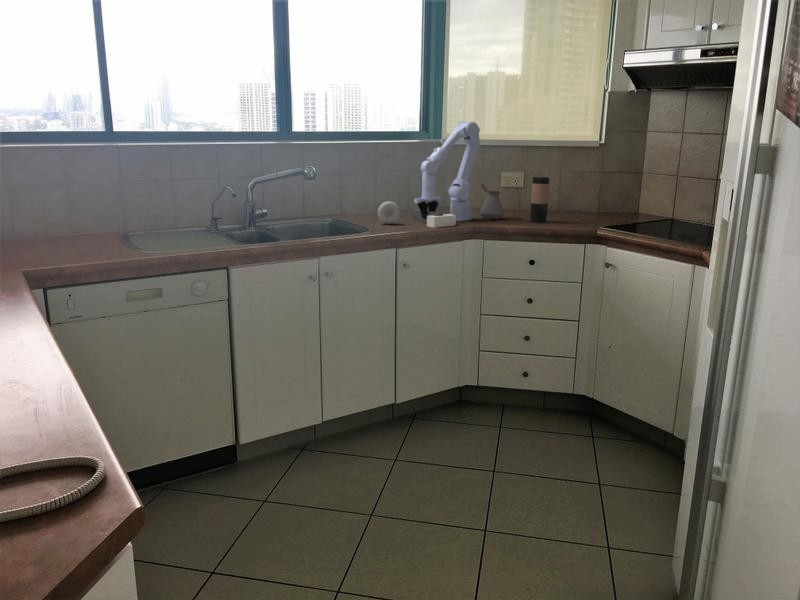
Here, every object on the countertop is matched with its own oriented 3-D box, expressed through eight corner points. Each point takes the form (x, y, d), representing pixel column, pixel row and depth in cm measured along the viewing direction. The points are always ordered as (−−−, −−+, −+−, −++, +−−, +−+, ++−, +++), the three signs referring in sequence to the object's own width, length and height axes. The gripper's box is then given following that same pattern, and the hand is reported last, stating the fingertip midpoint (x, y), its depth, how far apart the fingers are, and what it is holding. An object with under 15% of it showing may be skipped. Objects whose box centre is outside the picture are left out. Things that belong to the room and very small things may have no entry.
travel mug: (545, 221, 309) (548, 177, 304) (547, 223, 302) (550, 178, 297) (528, 220, 310) (531, 176, 305) (530, 222, 303) (533, 178, 298)
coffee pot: (508, 220, 311) (509, 187, 307) (484, 220, 308) (486, 187, 304) (490, 214, 331) (492, 183, 327) (469, 214, 328) (470, 183, 324)
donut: (398, 223, 295) (399, 200, 293) (400, 224, 292) (401, 201, 290) (376, 223, 293) (376, 201, 290) (378, 225, 290) (378, 201, 287)
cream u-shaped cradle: (448, 224, 295) (448, 213, 294) (455, 225, 292) (455, 215, 291) (426, 226, 288) (427, 215, 286) (434, 227, 284) (434, 217, 283)
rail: (419, 219, 309) (419, 208, 308) (442, 223, 297) (442, 212, 296) (413, 219, 307) (413, 209, 306) (436, 224, 295) (436, 212, 294)
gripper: (434, 186, 306) (433, 216, 309) (410, 188, 297) (409, 218, 301) (445, 187, 301) (444, 217, 304) (420, 189, 292) (419, 220, 295)
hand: (427, 218), depth 302 cm, fingers closed on rail, 3 cm apart
